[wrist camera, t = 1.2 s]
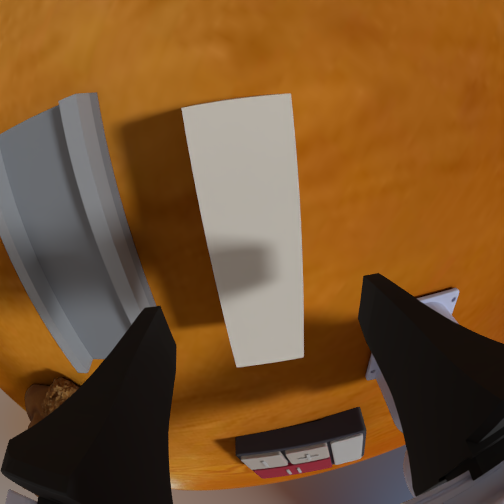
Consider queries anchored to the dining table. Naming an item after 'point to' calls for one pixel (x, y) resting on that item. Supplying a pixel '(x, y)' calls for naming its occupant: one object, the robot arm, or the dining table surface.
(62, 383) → the stuffed squirrel
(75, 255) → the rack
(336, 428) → the calculator
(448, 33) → the dining table surface
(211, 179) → the white rectangular block
